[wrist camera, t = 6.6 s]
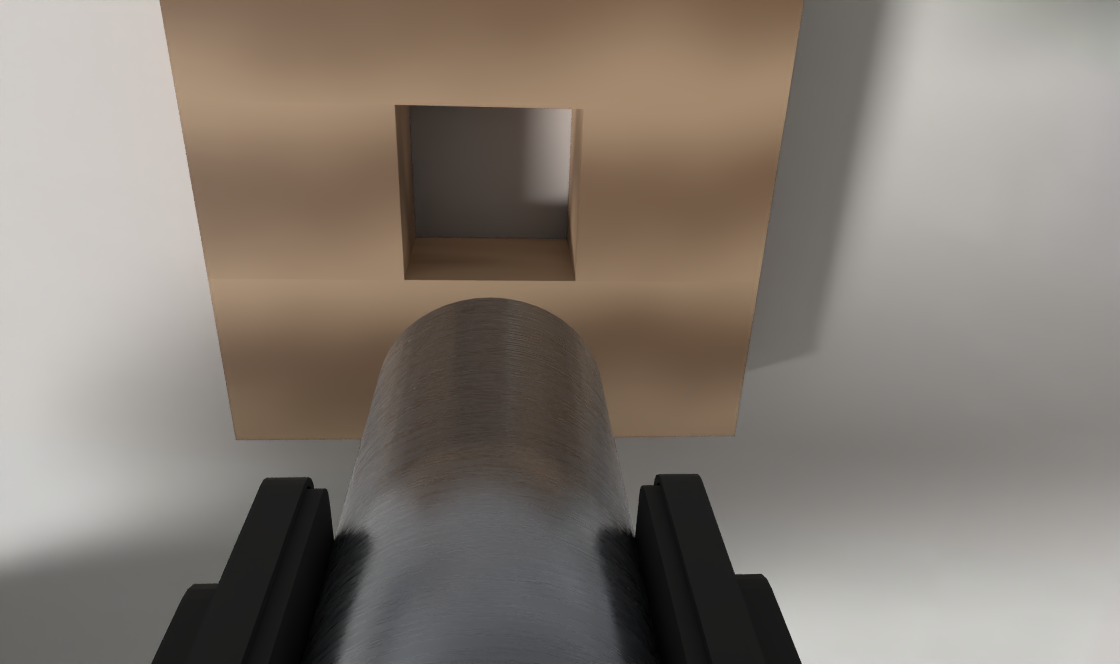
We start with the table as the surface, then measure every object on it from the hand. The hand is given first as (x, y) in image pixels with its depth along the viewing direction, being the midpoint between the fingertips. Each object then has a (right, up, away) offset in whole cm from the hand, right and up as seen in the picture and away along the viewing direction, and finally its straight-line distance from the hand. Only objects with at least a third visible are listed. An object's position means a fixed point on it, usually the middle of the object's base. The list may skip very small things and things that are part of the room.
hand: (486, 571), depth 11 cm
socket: (-1, +9, +18) cm, 20 cm away
